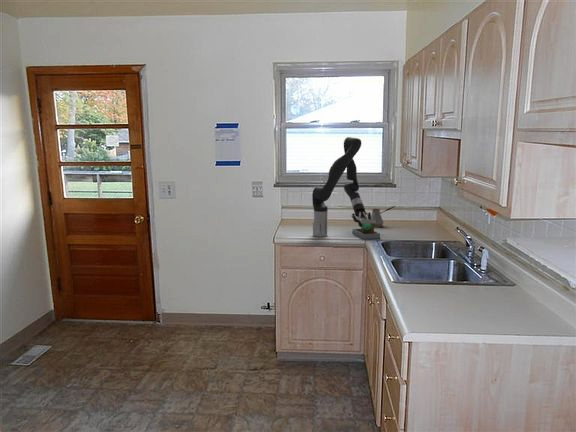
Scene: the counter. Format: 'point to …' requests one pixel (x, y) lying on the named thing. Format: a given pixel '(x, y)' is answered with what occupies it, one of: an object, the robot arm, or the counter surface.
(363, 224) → the food container
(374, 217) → the coffee pot
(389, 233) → the counter surface
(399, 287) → the counter surface
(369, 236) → the tray
